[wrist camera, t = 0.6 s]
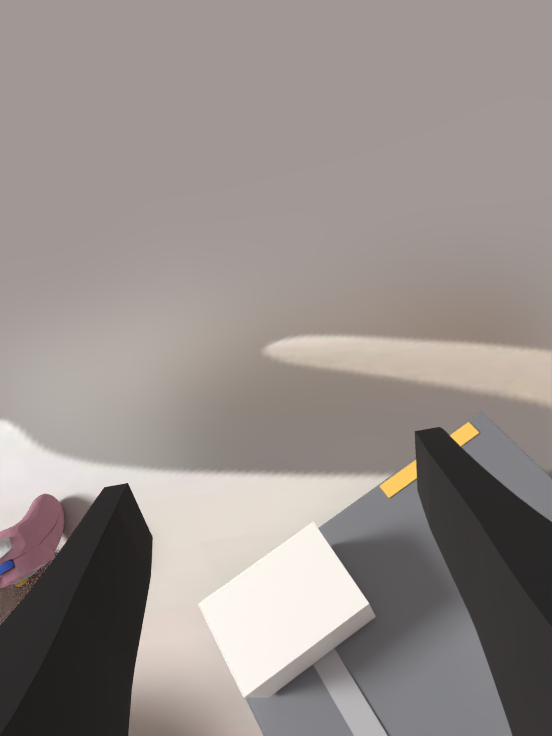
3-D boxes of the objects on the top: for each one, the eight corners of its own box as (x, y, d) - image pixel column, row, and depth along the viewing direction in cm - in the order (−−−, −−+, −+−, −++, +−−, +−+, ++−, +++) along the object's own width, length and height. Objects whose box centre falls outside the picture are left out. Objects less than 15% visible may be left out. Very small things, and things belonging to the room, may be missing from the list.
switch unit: (675, 615, 24) (690, 610, 22) (347, 885, 21) (342, 898, 20) (479, 422, 30) (481, 410, 29) (212, 614, 28) (202, 610, 27)
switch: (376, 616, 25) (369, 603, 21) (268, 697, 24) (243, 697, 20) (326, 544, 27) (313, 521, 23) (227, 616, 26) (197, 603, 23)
